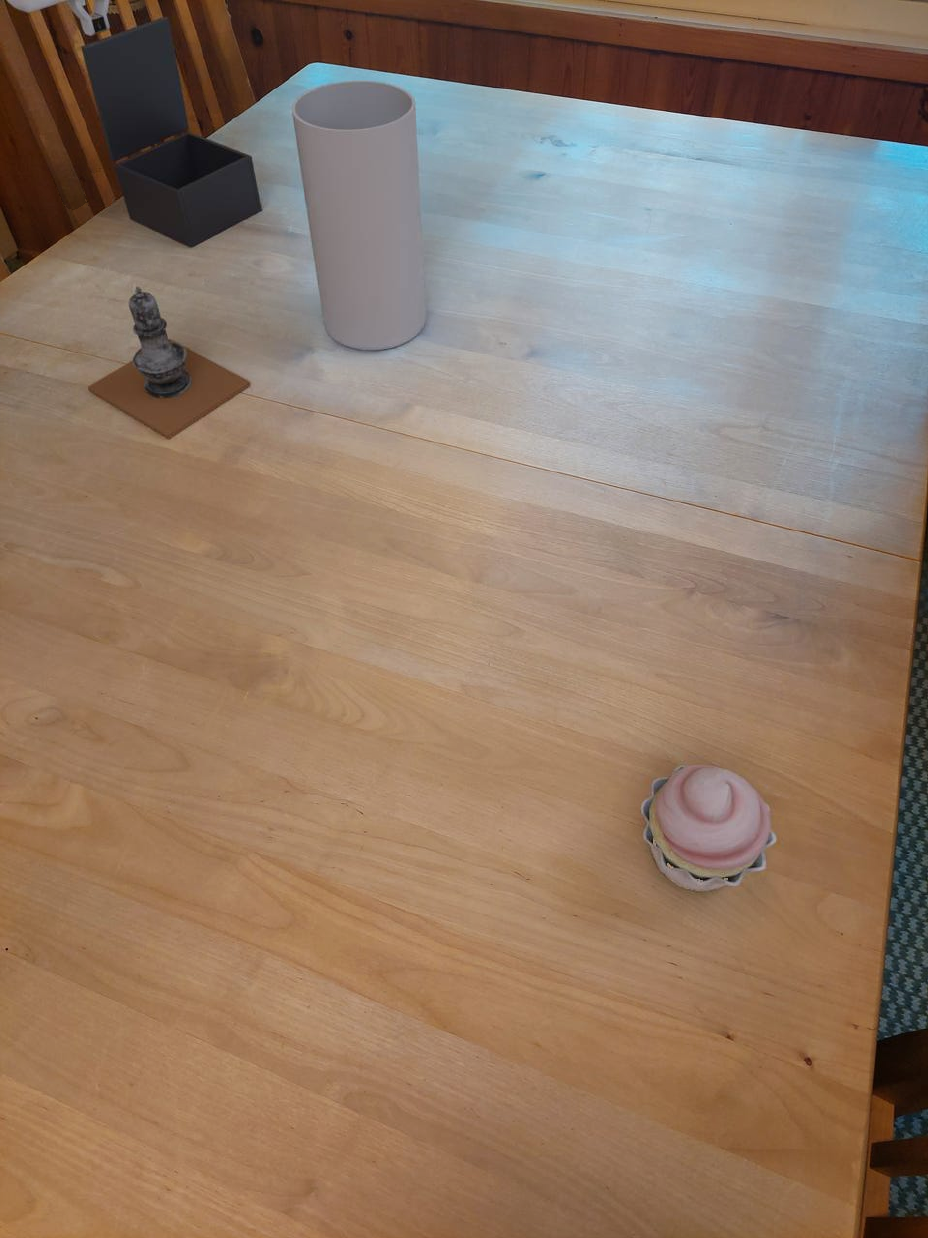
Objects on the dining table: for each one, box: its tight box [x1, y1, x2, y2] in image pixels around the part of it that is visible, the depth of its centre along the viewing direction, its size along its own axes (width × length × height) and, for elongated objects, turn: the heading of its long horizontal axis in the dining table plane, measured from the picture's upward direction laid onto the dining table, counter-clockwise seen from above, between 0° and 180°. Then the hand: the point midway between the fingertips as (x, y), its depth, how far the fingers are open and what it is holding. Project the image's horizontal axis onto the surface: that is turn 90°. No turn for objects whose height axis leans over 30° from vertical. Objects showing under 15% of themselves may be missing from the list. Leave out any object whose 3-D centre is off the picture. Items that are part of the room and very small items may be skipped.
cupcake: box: [640, 764, 778, 892], centre depth 62 cm, size 9×9×10 cm
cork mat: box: [87, 338, 251, 440], centre depth 102 cm, size 14×12×1 cm
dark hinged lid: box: [80, 16, 190, 163], centre depth 119 cm, size 14×13×1 cm
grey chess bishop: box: [128, 286, 192, 398], centre depth 98 cm, size 6×6×12 cm
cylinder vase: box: [291, 80, 427, 351], centre depth 101 cm, size 12×12×25 cm
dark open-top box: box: [113, 131, 263, 249], centre depth 126 cm, size 13×13×8 cm
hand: (97, 31), depth 117 cm, fingers closed
